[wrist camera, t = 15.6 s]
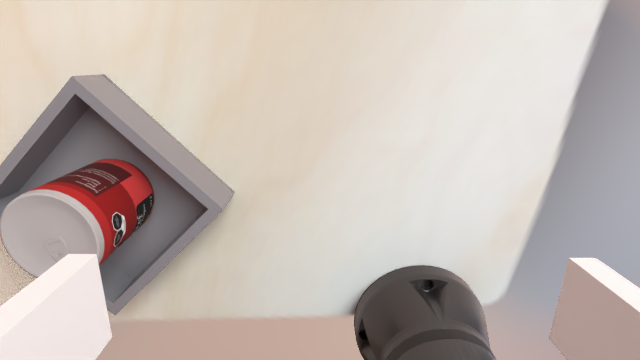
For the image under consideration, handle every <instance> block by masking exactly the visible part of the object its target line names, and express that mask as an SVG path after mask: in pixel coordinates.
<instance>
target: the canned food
mask: <svg viewBox="0 0 640 360" xmlns="http://www.w3.org/2000/svg"><path fill="white" fill-rule="evenodd" d="M153 206H154V190H153V187H152V185H151V183H150V181H149V179H148V177H147V176H146V175H145V174H144V173H143V172H142V171H141V170H140V169H139V168H138V167H136V166H135V165H133V164H131V163H129V162H126V161H123V160H118V159H102V160H98V161H96V162H93V163H91V164H89V165H86V166H84V167H82V168H80V169H77V170H75V171H73V172H71V173H68V174H66V175H64V176H61V177H59V178H57V179H55V180H52V181H50V182H48V183H45V184H43V185H41V186H39V187H36V188H34V189H32V190H30V191H28V192H26V193H24V194H21V195H20V196H19V197H17V198H15V199H14V200H13V201H11V202H10V203H9V204H8V205H7V206H6V208H5V209H4V211H3V213H2V216H1V219H0V236H1V239H2V242H3V245H4V247H5V249H6V250H7V252H8V254H9V255H10V256H11V258H12V259H13V260H14V261H15V262H16V263H17V264H18V265H19V266H20V267H21V268H22V269H24V270H25V271H26V272H28V273H29V274H31V275H33V276H35V277H37V278H38V277H39V276H40V275H42V274H43V273H44V272H46V271H47V270H48V269H49V268H51V267H52V266H53V265H55V264H56V263H57V262H59V261H60V260H61V259H62V258H64V257H65V256H66V255H68V254H97V259H98V264H99V265H100V264H102V263H103V262H104V261H105V260H106V259H107V258H108V257H109V256H110V255H111V254H112V253H113V252H114V251H115V250H116V249H117V248H118V247H120V246H121V245H122V244H123V243H124V242H125V241H126V240H127V239H128V238H129V237H130V236H131V235H132V234H133V233H134V232H135V231H136V230H137V229H138V228H140V227H141V226H142V225H143V224H144V223H145V222H146V221H147V219H148V218H149V216H150V215H151V213H152V209H153Z"/></svg>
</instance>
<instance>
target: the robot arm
mask: <svg viewBox="0 0 640 360" xmlns="http://www.w3.org/2000/svg"><path fill="white" fill-rule="evenodd" d="M354 327H355V334H356V341H357V345H358V347H359V350H360V353H361V355H362V357H363V358H364V360H496V358H495V357H494V355H493V353H492V352H491V350H490V344H489V338H488V332H487V326H486V321H485V315H484V312H483V309H482V307H481V304H480V302H479V300H478V299H477V297H476V296H475V294H474V293H473V291H472V290H471V289H470V287H469V286H468V285H467V284H466V282H464V281H463V280H462V279H461V278H460V277H458V276H457V275H455V274H454V273H452V272H450V271H447V270H445V269H442V268H438V267H433V266H410V267H405V268H401V269H398V270H395V271H392V272H390V273H388V274H386V275H384V276H383V277H381V278H380V279H378V280H377V281H375V282H374V283H373V284H372V285H371V286H370V287H369V288H368V289H367V290H366V291H365V293H364V294H363V296H362V297H361V299H360V301H359V303H358V305H357V308H356V311H355V317H354ZM111 338H112V333H111V328H110V323H109V317H108V312H107V307H106V301H105V296H104V291H103V285H102V280H101V275H100V269H99V264H98V259H97V254H68V255H66V256H65V257H64V258H62V259H61V260H60V261H59V262H57V263H56V264H55V265H53V266H52V267H51V268H49V269H48V270H47V271H46V272H44V273H43V274H42V275H40V276H39V277H38V278H37V279H35V280H34V281H33V282H31V283H30V284H29V285H27V286H26V287H25V288H24V289H22V290H21V291H20V292H18V293H17V294H16V295H15V296H13V297H12V298H11V299H9V300H8V301H7V302H5V303H4V304H3V305H2V306H0V360H95V359H96V358H97V356H98V355H99V354H100V353H101V351H102V350H103V348H104V347H105V346H106V344H107V343H108V342H109V340H110V339H111ZM549 339H550V340H551V342H552V343H553V344H554V345H555V346H556V348H557V349H558V350H559V351H560V352H561V354H562V355H563V356H564V357H565V358H566V359H567V360H640V288H638V287H637V286H635V285H634V284H633V283H631V282H630V281H628V280H627V279H625V278H624V277H622V276H621V275H620V274H618V273H617V272H615V271H614V270H612V269H611V268H610V267H608V266H607V265H605V264H604V263H602V262H601V261H599V260H598V259H597V258H569V260H568V264H567V268H566V272H565V276H564V280H563V284H562V288H561V292H560V296H559V300H558V304H557V308H556V312H555V316H554V320H553V325H552V328H551V332H550V336H549Z"/></svg>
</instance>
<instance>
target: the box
mask: <svg viewBox="0 0 640 360" xmlns="http://www.w3.org/2000/svg"><path fill="white" fill-rule="evenodd" d="M102 159H118V160H123V161H126V162H129V163H131V164H133V165H135V166H136V167H138V168H139V169H140V170H141V171H142V172H143V173H144V174H145V175H146V176H147V177H148V179H149V181H150V183H151V185H152V187H153V190H154V206H153V209H152V213H151V215H150V216H149V218H148V219H147V221H146V222H145V223H144V224H143V225H142V226H141V227H140V228H138V229H137V230H136V231H135V232H134V233H133V234H132V235H131V236H130V237H129V238H128V239H127V240H126V241H125V242H124V243H123V244H122V245H121V246H120V247H118V248H117V249H116V250H115V251H114V252H113V253H112V254H111V255H110V256H109V257H108V258H107V259H106V260H105V261H104V262H103V263H102V264H100V265H99V269H100V275H101V280H102V285H103V291H104V296H105V301H106V307H107V310H109V311H110V312H112V313H113V314H114V315H116V314H117V313H118V312H119V311H120V310H121V309H122V308H123V307H124V306H125V305H126V304H127V303H128V302H129V301H130V300H131V299H132V298H133V297H134V296H135V295H136V294H137V293H138V292H139V291H140V290H141V289H143V288H144V287H145V286H146V285H147V284H148V283H149V282H150V281H151V280H152V279H153V278H154V277H155V276H156V275H157V274H158V273H159V272H160V271H161V270H162V269H163V268H164V267H165V266H166V265H167V264H168V263H169V262H170V261H171V260H172V259H173V258H174V257H175V256H176V255H177V254H178V253H179V252H180V251H181V250H182V249H183V248H184V247H186V246H187V245H188V244H189V243H190V242H191V241H192V240H193V239H194V238H195V237H196V236H197V235H198V234H199V233H200V232H201V231H202V230H203V229H204V228H205V227H206V226H207V225H208V224H209V223H210V222H211V221H212V220H213V219H214V218H215V217H216V216H217V215H218V214H219V213H220V212H221V211H222V210H223V209H224V208H225V206H226V205H227V203H228V201H229V200H230V198H231V197H232V195H233V193H234V191H233V190H232V189H231V188H229V187H228V186H227V185H226V184H225V183H224V182H223V181H222V180H221V179H220V178H218V177H217V176H216V175H215V174H214V173H213V172H212V171H211V170H210V169H208V168H207V167H206V166H205V165H204V164H203V163H202V162H201V161H200V160H198V159H197V158H196V157H195V156H194V155H193V154H192V153H191V152H190V151H188V150H187V149H186V148H185V147H184V146H183V145H182V144H181V143H180V142H178V141H177V140H176V139H175V138H174V137H173V136H172V135H171V134H170V133H168V132H167V131H166V130H165V129H164V128H163V127H162V126H161V125H160V124H158V123H157V122H156V121H155V120H154V119H153V118H152V117H151V116H150V115H149V114H147V113H146V112H145V111H144V110H143V109H142V108H141V107H140V106H139V105H137V104H136V103H135V102H134V101H133V100H132V99H131V98H130V97H129V96H127V95H126V94H125V93H124V92H123V91H122V90H121V89H120V88H119V87H117V86H116V85H115V84H114V83H113V82H112V81H111V80H110V79H109V78H107V77H106V76H105V75H87V76H72V77H71V78H70V79H69V81H68V82H67V83H66V84H65V86H64V87H63V88H62V89H61V91H60V92H59V93H58V94H57V96H56V97H55V98H54V99H53V101H52V102H51V103H50V104H49V106H48V107H47V108H46V109H45V111H44V112H43V113H42V114H41V115H40V117H39V118H38V119H37V120H36V122H35V123H34V124H33V125H32V127H31V128H30V129H29V130H28V132H27V133H26V134H25V135H24V137H23V138H22V139H21V140H20V142H19V143H18V144H17V145H16V147H15V148H14V149H13V150H12V152H11V153H10V154H9V155H8V156H7V158H6V159H5V160H4V161H3V163H2V164H1V165H0V219H1V216H2V213H3V211H4V209H5V208H6V206H7V205H8V204H9V203H10V202H11V201H13V200H14V199H15V198H17V197H19V196H20V195H21V194H24V193H26V192H28V191H30V190H32V189H34V188H36V187H39V186H41V185H43V184H45V183H48V182H50V181H52V180H55V179H57V178H59V177H61V176H64V175H66V174H68V173H71V172H73V171H75V170H77V169H80V168H82V167H84V166H86V165H89V164H91V163H93V162H96V161H98V160H102Z"/></svg>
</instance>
